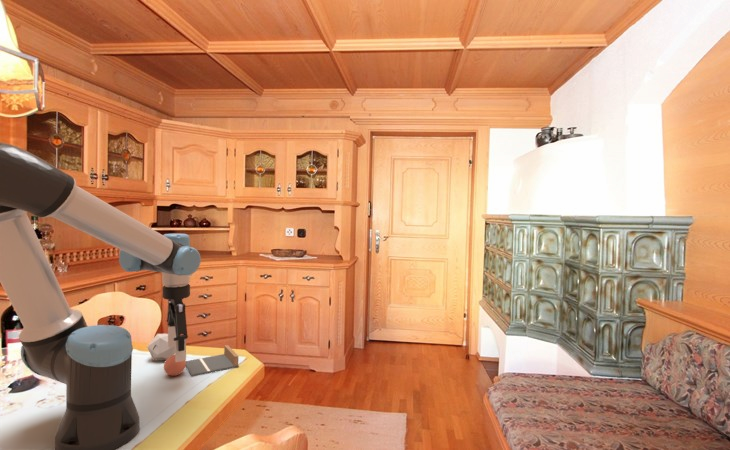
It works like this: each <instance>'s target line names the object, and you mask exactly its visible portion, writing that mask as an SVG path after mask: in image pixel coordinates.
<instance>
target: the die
mask: <svg viewBox="0 0 730 450" xmlns="http://www.w3.org/2000/svg"><path fill="white" fill-rule="evenodd" d="M146 347H147V350H148V351H149V354H150V356H151V358H152V361H166V360H167V359H168V358H169V357H170V356H172V355H175V346H174V347H168V333H156V335H155V336H154V337H153V339H152V340H151V341H150V342H149V344H148V345H147V346H146Z"/></svg>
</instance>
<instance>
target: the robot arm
mask: <svg viewBox="0 0 730 450" xmlns="http://www.w3.org/2000/svg"><path fill="white" fill-rule="evenodd" d="M28 213H29V214H31V215H34V216H37V217H38V218H41V219H46V218H50V217H51V218H53V219H55V220H58V221H60V222H62V223H64V224H66V225H68V226H70V227H73V228H74V229H76V230H79V231H81V232H83V233H85V234H86V235H89V236H91V237H93V238H96V239H97V240H100V241H101V242H104V243H106V244H108V245H109V246H112V247H114V248H116V249H118V250H119V253H118V262H119V265H120V267H121V268H122V270H124V271H125V272H128V273H132V272H136V273H137V272H138V273H139V272H142V271H147V272H149V271H150V272H157V273H161V279H162V280H161V281H162V282H161V284H162V285H163V286H162V289H161V290H162V298H163V299H164V300H168V302H167V303H168V306H167V316H166V323H167V334H168V347H174V346H175V354H174V355H175V362H180V361H187V339H188V338H189V336H188V327H187V317H186V316H187V315H186V304H185V303H184V301H183V300H184V299H187V298H189V297H190V296H191V285H190V284H189V283H190V282H191V276H192V275H193V274H194V273H196V272H197V270H198V269H199V267H200V264H201V262H202V260H201V259H202V257H201V254H200V252H199V251H198V249H197V248H195V247H191V239H190V235H188V234H187V233H164V234H161V233H160V232H158V231H157V230H155V229H152V227H150V226H149V225H148V226H147V225H145V224H144V223H142V222H141V221H139V220H137V219H136V218H133V217H132V216H130V215H129V214H127V213H125V212H124V211H121V210H120V209H118V208H116V207H115V206H113V205H111V204H109V203H107V202H106V201H105V200H102V199H101V198H99V197H97V196H96V195H94V194H93V193H90V192H89V191H87V190H86V189H84V188H82V187H80V186H78V185H77V181H76V179H75V177H73V176H71V175H70V174H68V173H66V172H65V171H63V170H61V169H60V168H58V167H56V166H54V165H53V164H51V163H50V162H47V161H46V160H44V159H43V158H41V157H39V156H37V155H35V154H33V153H32V152H30V151H28V150H25V149H23V148H22V147H19V146H16V145H13V144H10V143H5V142H0V285H1V286H2V288H3V290H4V293H5V294H6V296H7V298H8V300H9V302H10V304H11V306H12V308H13V309H14V311H15V314H16V315H17V317H18V319H19V321H20V323H21V324H22V327H23V328H22V330H21V331H20V333H19V334H18V339H19V341H20V343H21V345H22V346H21V347H20V357H21V360H22V362H23V364H24V365H25V367H26V368H28V369H29V371H30V372H33V373H34V374H36V375H39V376H41V377H45V378H48V379H51V380H53V381H57V382H58V383H61V384H64V385H66V389H65V391H66V393H65V394H66V395H65V396H66V406H65V411H64V414H63V417H62V419H61V423H60V424H59V427H58V430H57V432H56V435H55V441H54V449H55V450H116V449H118V448H120V447H122V446H124V445H125V444H126V443H128V442H130V441H132V439H134V438H135V436H136V435H137V434H138V433H139V430H140V421H141V420H140V415H139V412H138V410H137V407H136V405H135V403H134V400H133V397H132V367H133V366H132V364H133V362H132V360H133V357H132V356H133V355H132V354H133V349H134V347H133V341H132V335H131V333H130V332H129V330H128V329H126V328H124V327H121V326H118V325H112V324H110V325H106V324H95V325H87V322H86V320H85V317H84V315H83V313H82V312H81V310H77V309H73V308H71V307H70V304H69V303H68V300H67V299H66V296H65V294H64V291H63V290H62V287H61V285H60V283H59V281H58V279H57V276H56V274H55V273H54V270H53V268H52V266H51V264H50V262H49V260H48V257H47V255H46V253H45V251H44V248H43V245H41V242H40V239H39V238H38V235H37V233H36V231H35V229H34V227H33V225H32V223H31V220H30V218H29V216H28Z"/></svg>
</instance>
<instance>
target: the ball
mask: <svg viewBox="0 0 730 450" xmlns="http://www.w3.org/2000/svg"><path fill="white" fill-rule="evenodd" d="M186 361H187V360H185V361H180V362H175V354H174V355H172V356H170V357H169V358H168V359H167V360H164V365H163V370H164V372H165V374H167V375H168V376H171V377H172V376H173V377H174V376H178V375H180V374H182V373H183V371H185V369H186Z"/></svg>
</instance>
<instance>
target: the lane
mask: <svg viewBox="0 0 730 450" xmlns="http://www.w3.org/2000/svg"><path fill="white" fill-rule="evenodd" d="M223 351H224V353H222V354H218V355H212V356H206V357H200V358H196V359H191V360H190V359H189V360H185V361H186V366H185V369H187V371H188V373H189V374H190V376H191V377H198V376H201V375H207V374H210V373H211V372H212V373H216V372H215V371H217V372H221V371H226V370H231V369H235V368H238V367H239V355H238V354H237V353H236V352H235V351H234V350H233V348H231V347H230V345H228V344H226V345H224V347H223ZM220 370H221V371H220ZM212 373H211V374H212Z"/></svg>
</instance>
